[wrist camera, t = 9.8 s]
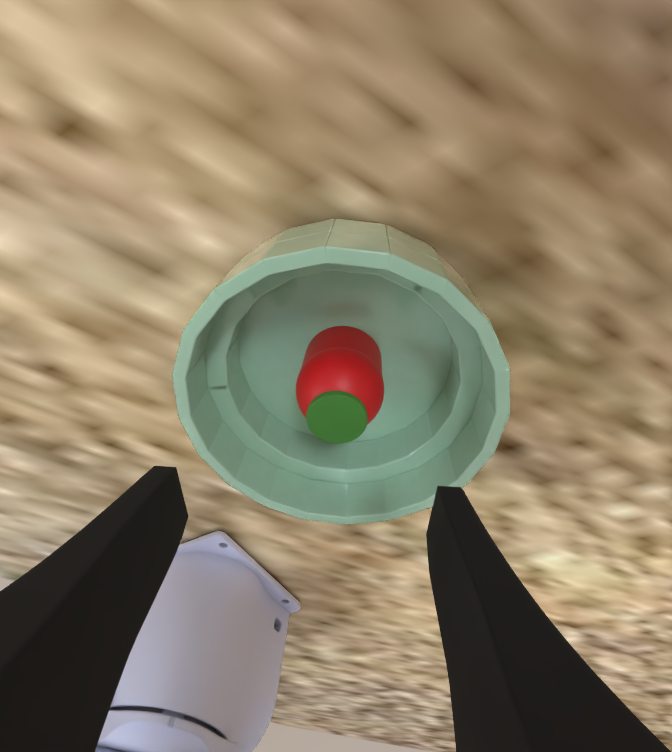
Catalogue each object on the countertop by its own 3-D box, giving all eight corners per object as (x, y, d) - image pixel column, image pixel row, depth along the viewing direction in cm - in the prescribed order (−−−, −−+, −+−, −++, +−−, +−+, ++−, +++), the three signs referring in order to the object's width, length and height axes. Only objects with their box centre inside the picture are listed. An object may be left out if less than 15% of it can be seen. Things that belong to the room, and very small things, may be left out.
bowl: (517, 400, 19) (554, 468, 15) (305, 480, 23) (293, 552, 19) (407, 150, 14) (421, 161, 10) (158, 307, 18) (102, 357, 14)
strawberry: (396, 373, 18) (402, 436, 15) (329, 402, 19) (320, 468, 16) (358, 310, 17) (355, 362, 13) (289, 345, 18) (268, 403, 14)
